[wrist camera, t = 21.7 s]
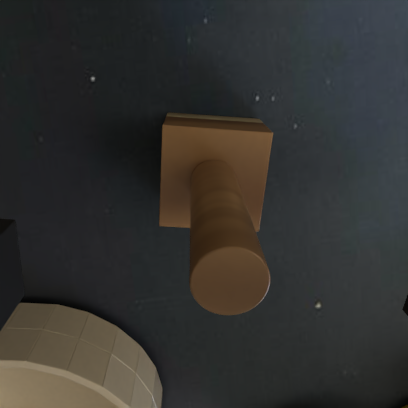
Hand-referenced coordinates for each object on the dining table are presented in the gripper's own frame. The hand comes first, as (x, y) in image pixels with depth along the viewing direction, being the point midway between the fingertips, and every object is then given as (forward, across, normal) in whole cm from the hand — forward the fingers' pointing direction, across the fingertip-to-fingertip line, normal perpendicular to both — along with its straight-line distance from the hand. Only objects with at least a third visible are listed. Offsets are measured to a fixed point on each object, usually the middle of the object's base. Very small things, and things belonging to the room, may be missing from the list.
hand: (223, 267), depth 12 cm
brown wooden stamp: (+14, 0, 0) cm, 14 cm away
